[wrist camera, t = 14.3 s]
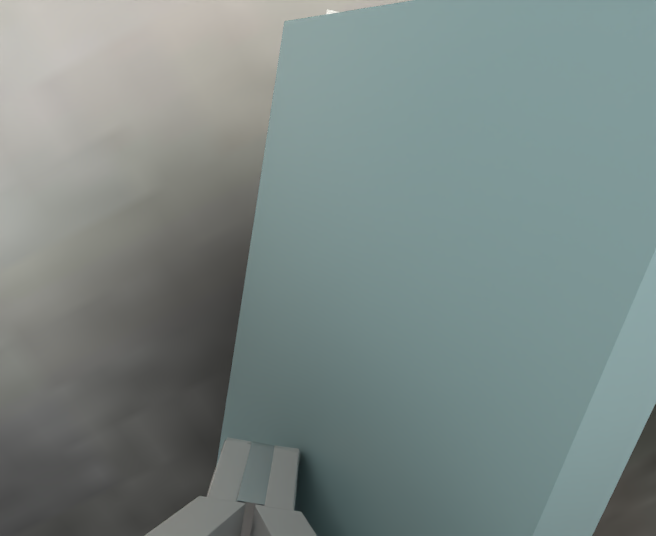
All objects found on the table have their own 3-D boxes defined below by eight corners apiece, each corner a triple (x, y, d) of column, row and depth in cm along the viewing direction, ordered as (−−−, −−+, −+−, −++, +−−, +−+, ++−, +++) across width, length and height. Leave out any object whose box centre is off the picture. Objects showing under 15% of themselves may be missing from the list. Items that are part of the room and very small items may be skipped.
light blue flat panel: (346, 1050, 9) (296, 1086, 9) (226, 575, 18) (198, 581, 17) (856, -15, 4) (788, -63, 3) (323, 32, 12) (284, 21, 12)
